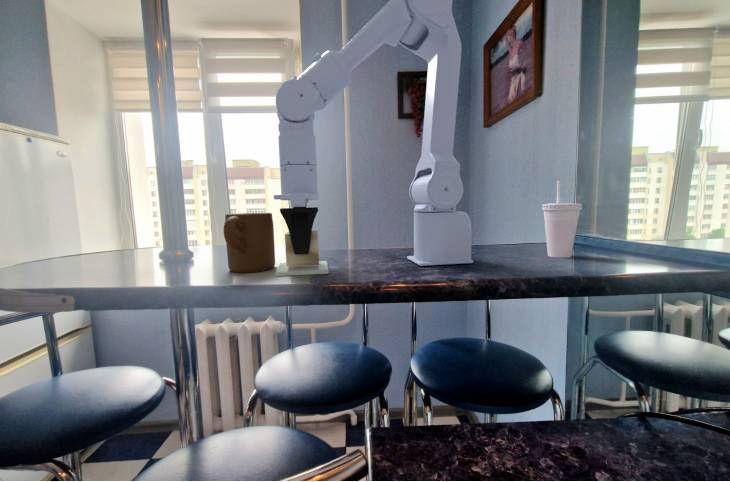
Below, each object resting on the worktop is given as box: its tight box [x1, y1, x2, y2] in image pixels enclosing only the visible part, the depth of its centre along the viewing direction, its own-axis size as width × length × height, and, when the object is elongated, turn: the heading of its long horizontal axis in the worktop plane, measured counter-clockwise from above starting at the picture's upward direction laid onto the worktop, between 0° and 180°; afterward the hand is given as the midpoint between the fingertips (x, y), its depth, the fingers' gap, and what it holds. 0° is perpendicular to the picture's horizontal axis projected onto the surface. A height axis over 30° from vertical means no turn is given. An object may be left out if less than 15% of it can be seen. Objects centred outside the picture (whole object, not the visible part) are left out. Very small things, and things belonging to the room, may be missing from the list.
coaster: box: [274, 260, 330, 277], centre depth 53 cm, size 8×8×1 cm
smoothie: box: [541, 180, 583, 259], centre depth 59 cm, size 6×6×14 cm
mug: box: [223, 212, 276, 274], centre depth 52 cm, size 12×8×9 cm, turn 178°
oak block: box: [284, 230, 320, 266], centre depth 53 cm, size 5×5×5 cm
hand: (302, 251), depth 53 cm, fingers closed on oak block, 5 cm apart
